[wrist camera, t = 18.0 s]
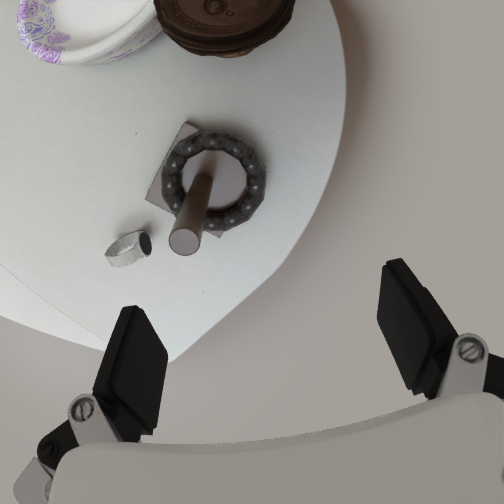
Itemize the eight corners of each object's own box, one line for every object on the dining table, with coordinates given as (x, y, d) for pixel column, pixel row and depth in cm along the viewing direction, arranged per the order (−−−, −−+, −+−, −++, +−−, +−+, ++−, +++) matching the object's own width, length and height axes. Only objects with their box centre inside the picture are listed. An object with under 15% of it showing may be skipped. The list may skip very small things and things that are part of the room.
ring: (195, 111, 24) (192, 112, 23) (284, 165, 28) (287, 170, 26) (147, 197, 28) (142, 204, 27) (230, 242, 32) (229, 250, 30)
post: (186, 120, 26) (149, 144, 15) (265, 164, 29) (286, 218, 17) (147, 195, 30) (100, 263, 18) (220, 233, 32) (213, 316, 21)
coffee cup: (175, 4, 19) (135, -48, 8) (260, -16, 19) (279, -79, 8) (195, 78, 24) (164, 68, 13) (281, 59, 23) (318, 35, 12)
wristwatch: (157, 241, 32) (146, 266, 28) (121, 253, 33) (108, 277, 29) (147, 220, 31) (133, 241, 27) (111, 232, 32) (95, 255, 27)
